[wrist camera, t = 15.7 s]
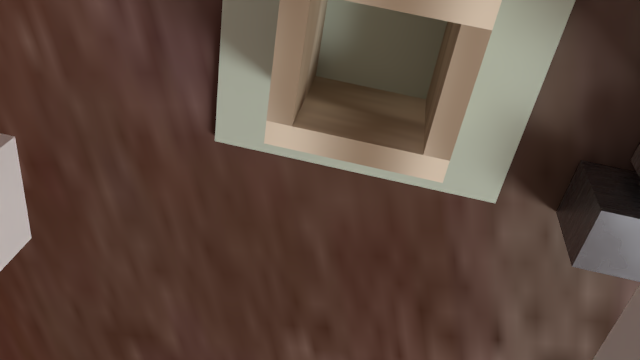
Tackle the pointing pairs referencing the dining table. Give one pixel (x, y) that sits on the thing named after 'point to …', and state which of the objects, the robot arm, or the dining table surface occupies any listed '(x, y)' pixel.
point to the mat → (397, 78)
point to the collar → (376, 92)
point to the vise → (603, 219)
